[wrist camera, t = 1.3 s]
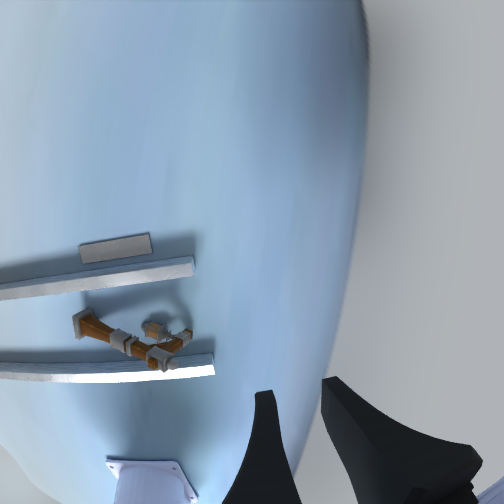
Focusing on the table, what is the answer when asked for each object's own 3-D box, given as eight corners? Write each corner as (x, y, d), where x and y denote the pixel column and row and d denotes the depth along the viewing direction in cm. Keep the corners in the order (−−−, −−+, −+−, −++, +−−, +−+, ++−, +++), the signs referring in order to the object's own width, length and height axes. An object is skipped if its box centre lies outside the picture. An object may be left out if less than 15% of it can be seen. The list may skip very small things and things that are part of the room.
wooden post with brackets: (203, 349, 20) (170, 385, 16) (113, 316, 22) (73, 339, 18) (205, 326, 20) (170, 361, 15) (111, 295, 22) (70, 316, 17)
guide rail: (214, 361, 21) (214, 383, 19) (-28, 366, 19) (-40, 379, 17) (188, 227, 18) (184, 237, 16) (-65, 275, 16) (-80, 285, 14)
